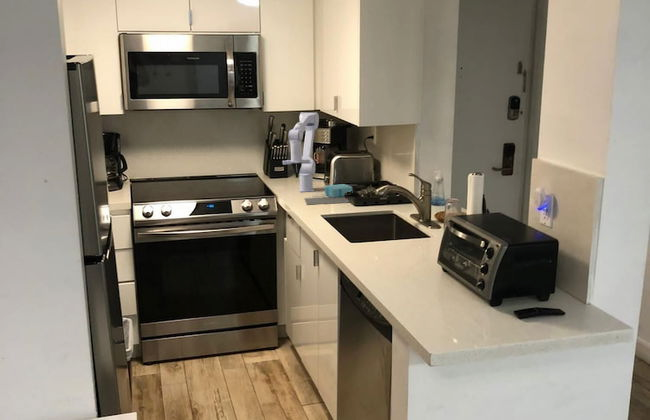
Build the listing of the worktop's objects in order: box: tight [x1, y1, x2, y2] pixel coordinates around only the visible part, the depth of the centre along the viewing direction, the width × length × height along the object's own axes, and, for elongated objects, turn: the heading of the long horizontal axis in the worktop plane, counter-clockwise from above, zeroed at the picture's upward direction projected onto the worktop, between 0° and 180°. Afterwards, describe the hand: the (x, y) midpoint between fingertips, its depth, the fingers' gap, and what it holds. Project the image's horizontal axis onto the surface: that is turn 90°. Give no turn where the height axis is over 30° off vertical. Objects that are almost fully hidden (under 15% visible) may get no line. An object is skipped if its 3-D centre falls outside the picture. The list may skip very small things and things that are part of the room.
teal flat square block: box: [324, 183, 353, 197], centre depth 360 cm, size 12×4×12 cm
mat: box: [304, 196, 351, 206], centre depth 347 cm, size 14×22×1 cm, turn 97°
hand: (297, 177), depth 357 cm, fingers closed
